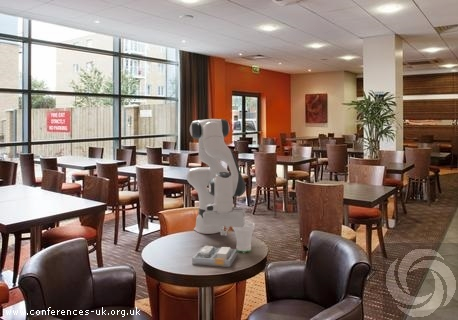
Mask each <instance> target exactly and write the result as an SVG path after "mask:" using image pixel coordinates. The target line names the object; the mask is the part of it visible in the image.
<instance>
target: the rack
mask: <svg viewBox="0 0 458 320" xmlns="http://www.w3.org/2000/svg"><path fill="white" fill-rule="evenodd" d="M220 249H221V247H215V245H214V246H213V245H204V246H201V247H200V249H199V250H198V251H197V252H196V253H195V254H194V255H193V256H192V257H191V264H192V265H199V266H200V265H201V266H212V267H225V268H230V267H231V266H232V265H233V262H234V261H235V260H236V258H237V256H238V252H237V249H236V248H231V256H230V257H229V259H228V260H225V259H218V258H217V252H218V251H219V250H220Z"/></svg>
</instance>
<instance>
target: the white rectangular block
mask: <svg viewBox="0 0 458 320" xmlns="http://www.w3.org/2000/svg"><path fill="white" fill-rule="evenodd" d="M220 248H221V249H220V250H219V251H218V252H217V258H218V259H225V260H228V259H229V257H230V256H231V249H232V248H231V247H230V246H228V247H227V246H220Z"/></svg>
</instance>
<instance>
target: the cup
mask: <svg viewBox="0 0 458 320" xmlns="http://www.w3.org/2000/svg"><path fill="white" fill-rule="evenodd" d="M255 225H256V224H255V223H254V222H252V221H246V220H245V225H244V226H243V227H232V229H233V231H234V235H235V238H236V239H235V240H236V245H235V246H236V248H235V249H237V253H243V254H246V253H247V252H248V253H251V250H252V244H251V243H252V236H253V233H254V230H255V228H256V226H255Z"/></svg>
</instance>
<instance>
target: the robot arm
mask: <svg viewBox="0 0 458 320" xmlns="http://www.w3.org/2000/svg"><path fill="white" fill-rule="evenodd" d="M230 129H231V128H230V124H229V122H228V121H227V120H226V119H224V118H219V119H217V118H209V119H198V120H193V121H192V122H191V123H190V126H189V133H190V135H191V137H192V138H193V139H194V140H198V159H199V161H201V162H202V163H204V164H206V165H207V166H206V167H205V166H202V167H200V166H199V167H191V168H189V170H187V174H186V180H187V183H189V185H191V186H192V188H194V189H195V191H196V193H197V196H198V202H199V203H198V204H199V205H198V206H199V207H198V210H197V211H198V215H197V216H196V219H195V220H196V221H195V227H194V228H193V231H196V232H197V233H199V234H207V235H208V234H210V235H211V234H217V233H220V236H228V230H229V229H230V228H233V227H243V226H244V225H245V221H246V218H245V217H246V209H244V208H243V207H241V206H240V207H239V206H238V207H236V206H234V199H233V197H236V198H237V197H238V198H239V197H242V196H243V195H244V194H245V192H246V189H247V186H246V181H245V180H244V177H243V175H242V173H241V169H240V167H239V165H238V164H239V163H238V161H237V159H236V156H235V153H234V152H233V149H232V148H229V147H228V145H227V144H226V142H225V138H226V137H227V136H229V133H230ZM220 161H221V162H224V163H226V165H227V167H228V169H229V170H228V169H227V168H226V167H225V166H223V165H222V163H221V162H220ZM225 229H226V230H225Z"/></svg>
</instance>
